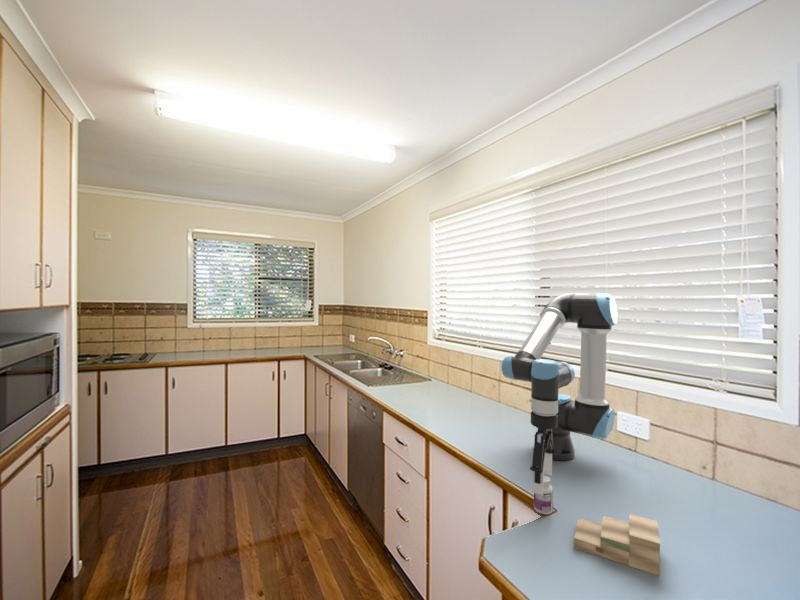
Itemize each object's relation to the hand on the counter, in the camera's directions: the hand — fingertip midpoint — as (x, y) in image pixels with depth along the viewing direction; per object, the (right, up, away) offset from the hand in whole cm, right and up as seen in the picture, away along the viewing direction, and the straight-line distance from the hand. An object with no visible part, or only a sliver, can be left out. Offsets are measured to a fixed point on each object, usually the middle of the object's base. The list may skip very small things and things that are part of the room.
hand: (542, 483), depth 111 cm
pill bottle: (0, -9, +1) cm, 9 cm away
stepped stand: (+12, -9, -16) cm, 22 cm away
